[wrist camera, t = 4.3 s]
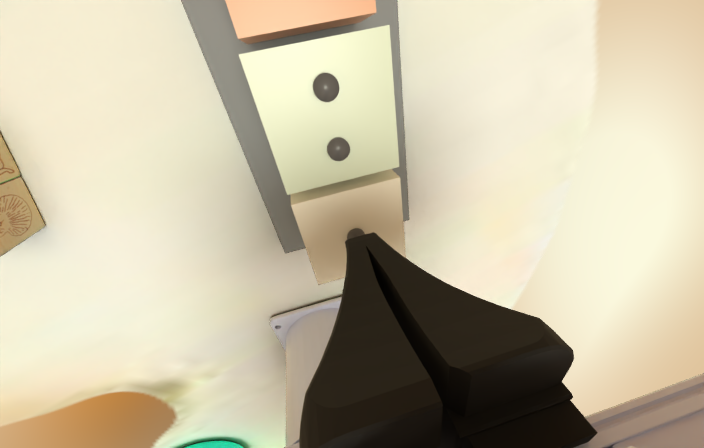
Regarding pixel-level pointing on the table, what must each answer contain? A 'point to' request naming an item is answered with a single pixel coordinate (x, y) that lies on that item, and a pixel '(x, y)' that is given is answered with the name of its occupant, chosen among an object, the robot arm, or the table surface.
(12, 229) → the stack of blocks
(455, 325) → the robot arm
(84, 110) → the table surface
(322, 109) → the tile two
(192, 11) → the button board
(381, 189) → the tile one
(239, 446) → the donuts
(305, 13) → the tile three
